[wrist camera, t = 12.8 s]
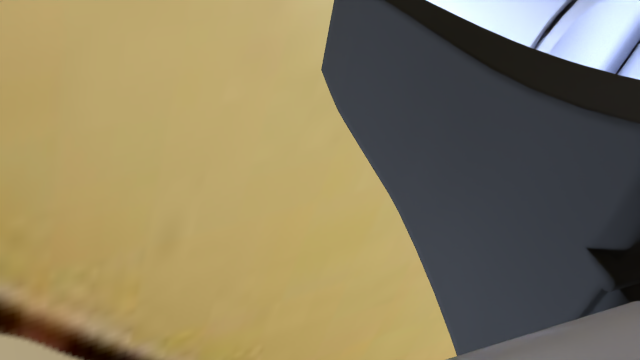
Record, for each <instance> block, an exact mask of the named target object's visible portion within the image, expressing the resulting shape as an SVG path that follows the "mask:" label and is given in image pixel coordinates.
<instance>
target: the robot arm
mask: <svg viewBox="0 0 640 360" xmlns="http://www.w3.org/2000/svg"><path fill="white" fill-rule="evenodd" d="M321 70H322V73H323V75H324V78H325V80H326V83H327V86H328V88H329V91H330V93H331V95H332V98H333V100H334V102H335V105H336V107H337V109H338V111H339V113H340V115H341V116H342V118H343V120H344V122H345V123H346V125H347V127H348V128H349V130H350V132H351V133H352V135H353V137H354V138H355V140H356V142H357V143H358V145H359V146H360V148H361V150H362V151H363V153H364V154H365V156H366V158H367V159H368V161H369V163H370V164H371V166H372V167H373V169H374V171H375V172H376V174H377V175H378V177H379V179H380V180H381V182H382V184H383V185H384V187H385V188H386V190H387V192H388V193H389V195H390V197H391V199H392V201H393V202H394V204H395V206H396V208H397V210H398V212H399V214H400V216H401V218H402V220H403V222H404V224H405V227H406V229H407V231H408V233H409V235H410V237H411V240H412V242H413V244H414V246H415V248H416V250H417V253H418V255H419V258H420V260H421V262H422V265H423V267H424V269H425V272H426V274H427V277H428V279H429V281H430V284H431V286H432V288H433V291H434V293H435V296H436V299H437V301H438V304H439V307H440V309H441V312H442V315H443V317H444V320H445V323H446V325H447V328H448V331H449V333H450V336H451V339H452V342H453V345H454V348H455V351H456V354H457V356H456V357H453V358H450V359H446V360H640V0H334V5H333V10H332V15H331V21H330V26H329V32H328V37H327V42H326V48H325V53H324V58H323V64H322V69H321Z"/></svg>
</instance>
